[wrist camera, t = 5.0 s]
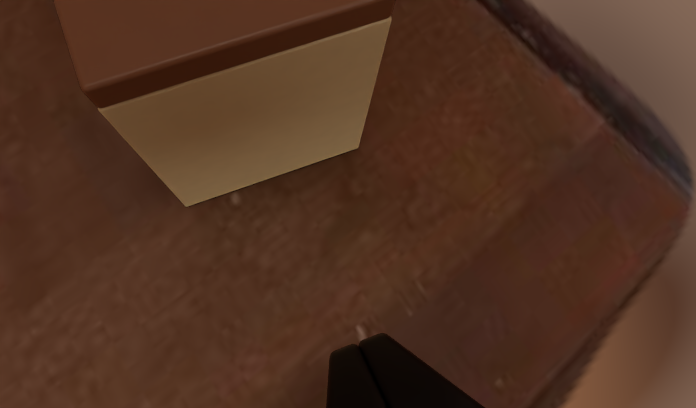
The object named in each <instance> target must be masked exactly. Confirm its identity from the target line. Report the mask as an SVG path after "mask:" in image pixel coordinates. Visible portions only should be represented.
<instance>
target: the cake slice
mask: <svg viewBox="0 0 696 408" xmlns="http://www.w3.org/2000/svg"><path fill="white" fill-rule="evenodd" d="M395 1H396V0H53V2H54V5H55V8H56V11H57V15H58V18H59V21H60V24H61V27H62V31H63V34H64V37H65V40H66V44H67V47H68V50H69V53H70V56H71V60H72V63H73V66H74V69H75V73H76V76H77V79H78V82H79V85H80V89H81V90H82V91H83V92H84V93H85V94H86V96H87V97H88V98H89V99H90V100H91V101H92V102H93V103H94V104H95V106H96V107H97V108H98V110H99V112H100V113H101V114H102V115H103V116H104V117H105V118H106V119H107V120H108V121H109V123H110V124H111V125H112V126H113V127H114V128H115V129H116V130H117V131H118V133H119V134H120V135H121V136H122V137H123V138H124V139H125V140H126V141H127V142H128V144H129V145H130V146H131V147H132V148H133V149H134V150H135V151H136V152H137V154H138V155H139V156H140V157H141V158H142V159H143V160H144V161H145V162H146V163H147V165H148V166H149V167H150V168H151V169H152V170H153V171H154V172H155V173H156V175H157V176H158V177H159V178H160V179H161V180H162V181H163V182H164V183H165V184H166V186H167V187H168V188H169V189H170V190H171V191H172V192H173V193H174V194H175V196H176V197H177V198H178V199H179V200H180V201H181V202H182V203H183V204H184V205H185V207H188V206H191V205H194V204H196V203H199V202H202V201H205V200H208V199H211V198H214V197H217V196H220V195H223V194H226V193H229V192H231V191H234V190H237V189H240V188H243V187H246V186H249V185H252V184H255V183H258V182H261V181H264V180H266V179H269V178H272V177H275V176H278V175H281V174H284V173H287V172H290V171H293V170H296V169H299V168H301V167H304V166H307V165H310V164H313V163H316V162H319V161H322V160H325V159H328V158H331V157H334V156H336V155H339V154H342V153H345V152H348V151H351V150H354V149H357V148H358V147H359V143H360V139H361V135H362V132H363V128H364V124H365V120H366V116H367V112H368V109H369V105H370V101H371V97H372V93H373V89H374V85H375V82H376V78H377V74H378V70H379V66H380V62H381V59H382V55H383V51H384V47H385V43H386V39H387V36H388V32H389V28H390V24H391V20H392V17H391V15H392V12H393V9H394V5H395Z"/></svg>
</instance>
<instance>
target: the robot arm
mask: <svg viewBox="0 0 696 408" xmlns="http://www.w3.org/2000/svg"><path fill="white" fill-rule="evenodd" d="M326 408H485V407H483V406H482V405H481V404H479V403H478V402H477V401H475V400H474V399H473V398H471V397H470V396H469V395H467V394H466V393H465V392H463V391H462V390H461V389H459V388H458V387H457V386H455V385H454V384H453V383H451V382H450V381H449V380H447V379H446V378H445V377H443V376H442V375H441V374H439V373H438V372H437V371H435V370H434V369H433V368H431V367H430V366H429V365H427V364H426V363H425V362H423V361H422V360H421V359H419V358H418V357H417V356H415V355H414V354H413V353H411V352H410V351H409V350H407V349H406V348H405V347H403V346H402V345H401V344H399V343H398V342H397V341H395V340H394V339H393V338H391V337H390V336H388V335H387V334H385V333H380V334H377V335H374V336H372V337H369V338H367V339H364V340H362V341H360V343H359V347H358V346H357V345H356V344H351V345H348V346H346V347H343V348H341V349H338V350H336V351H333V352H332V353H331V355H330V360H329V375H328V389H327V403H326Z"/></svg>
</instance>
